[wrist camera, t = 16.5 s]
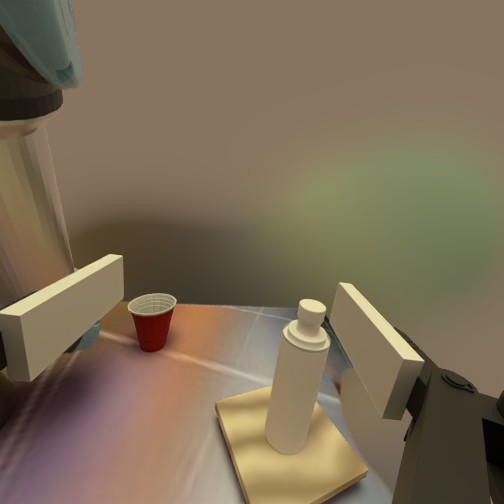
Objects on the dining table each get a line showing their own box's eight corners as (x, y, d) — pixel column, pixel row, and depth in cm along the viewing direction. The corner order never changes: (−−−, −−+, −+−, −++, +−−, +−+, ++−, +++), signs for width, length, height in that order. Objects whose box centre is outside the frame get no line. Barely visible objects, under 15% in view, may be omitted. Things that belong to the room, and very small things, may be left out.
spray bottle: (303, 463, 36) (342, 312, 29) (259, 445, 37) (286, 298, 30) (307, 422, 42) (339, 290, 35) (269, 408, 43) (293, 280, 36)
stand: (213, 418, 44) (215, 401, 43) (294, 392, 52) (297, 378, 51) (255, 553, 29) (260, 532, 28) (361, 488, 37) (368, 469, 36)
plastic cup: (151, 326, 68) (152, 287, 64) (183, 339, 64) (185, 299, 61) (117, 348, 58) (116, 304, 55) (152, 366, 54) (153, 319, 51)
